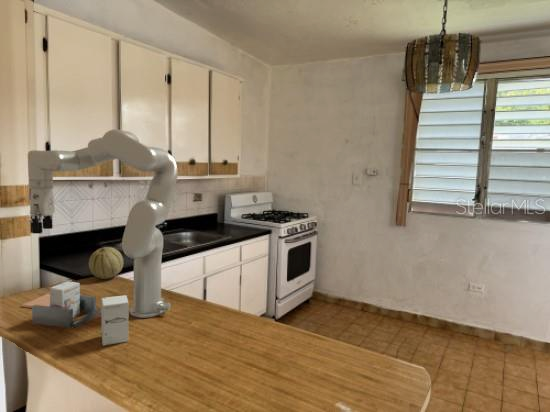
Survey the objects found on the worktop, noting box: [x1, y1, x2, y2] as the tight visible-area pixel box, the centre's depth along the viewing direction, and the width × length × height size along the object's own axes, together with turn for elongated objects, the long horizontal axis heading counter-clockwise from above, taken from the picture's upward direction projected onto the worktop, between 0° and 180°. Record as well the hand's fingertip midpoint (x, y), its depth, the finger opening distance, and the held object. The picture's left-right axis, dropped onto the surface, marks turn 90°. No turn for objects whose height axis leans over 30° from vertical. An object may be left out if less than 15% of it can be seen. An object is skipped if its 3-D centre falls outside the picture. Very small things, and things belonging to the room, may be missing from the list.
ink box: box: [49, 280, 81, 318], centre depth 126 cm, size 9×5×12 cm, turn 168°
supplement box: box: [100, 294, 130, 347], centre depth 113 cm, size 7×7×13 cm
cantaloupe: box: [88, 246, 124, 280], centre depth 171 cm, size 15×15×15 cm
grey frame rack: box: [31, 294, 101, 329], centre depth 127 cm, size 16×13×6 cm
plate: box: [21, 292, 50, 309], centre depth 140 cm, size 13×13×1 cm
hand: (42, 230), depth 135 cm, fingers open, 9 cm apart
